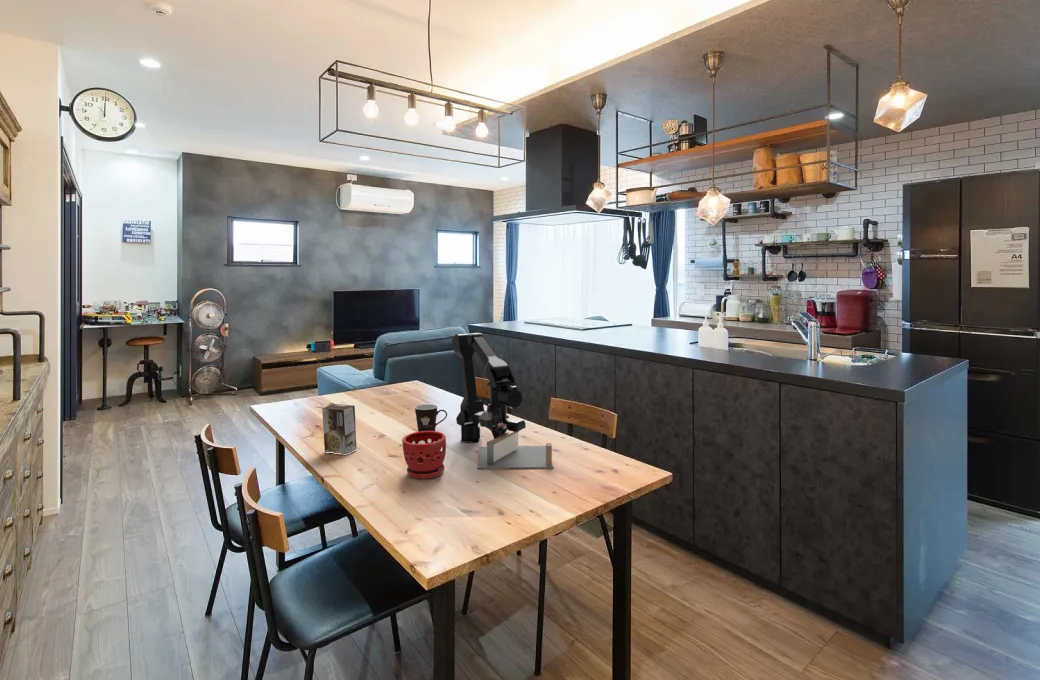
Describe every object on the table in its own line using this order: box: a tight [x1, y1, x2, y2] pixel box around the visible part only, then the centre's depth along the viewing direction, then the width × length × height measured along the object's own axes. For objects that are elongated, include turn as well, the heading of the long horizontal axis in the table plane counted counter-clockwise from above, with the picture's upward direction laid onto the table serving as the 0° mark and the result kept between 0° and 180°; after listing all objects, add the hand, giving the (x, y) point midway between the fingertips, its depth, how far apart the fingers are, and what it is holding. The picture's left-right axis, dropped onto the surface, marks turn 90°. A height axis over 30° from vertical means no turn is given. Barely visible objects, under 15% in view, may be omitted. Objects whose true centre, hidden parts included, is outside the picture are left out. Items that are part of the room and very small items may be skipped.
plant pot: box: [402, 430, 447, 480], centre depth 170 cm, size 13×13×12 cm
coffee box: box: [321, 403, 357, 454], centre depth 191 cm, size 9×6×16 cm
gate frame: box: [477, 442, 554, 470], centre depth 185 cm, size 24×21×7 cm
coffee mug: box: [414, 403, 448, 432], centre depth 214 cm, size 12×9×10 cm
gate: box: [486, 430, 520, 464], centre depth 184 cm, size 18×2×7 cm, turn 151°
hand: (498, 445), depth 188 cm, fingers closed
